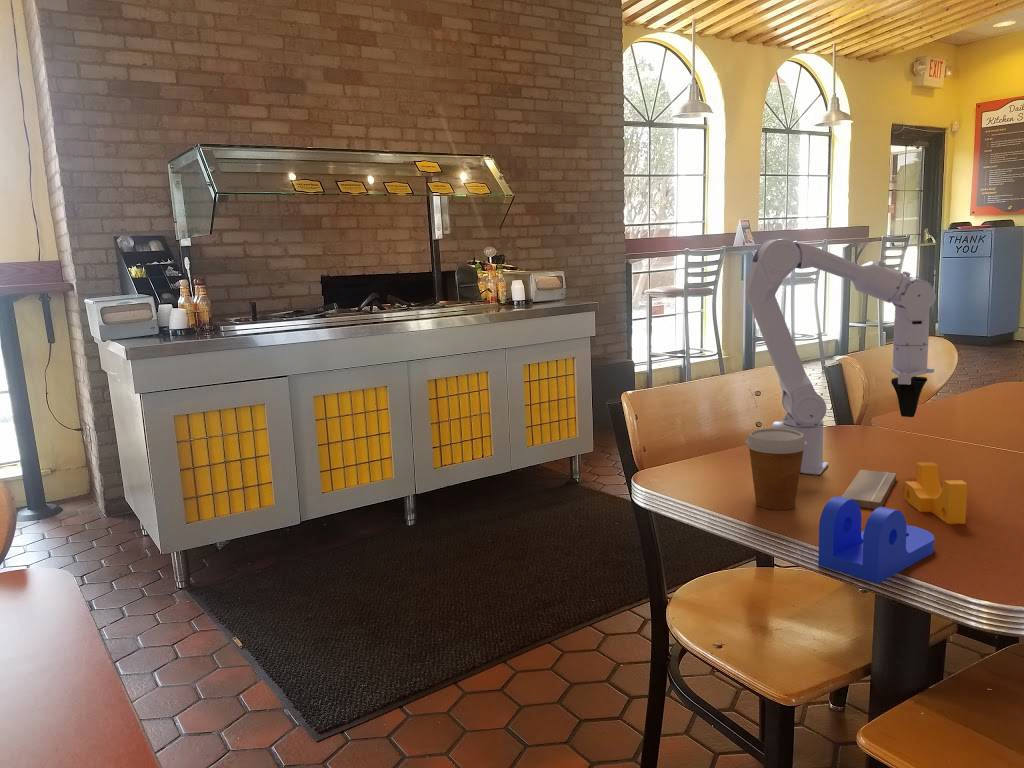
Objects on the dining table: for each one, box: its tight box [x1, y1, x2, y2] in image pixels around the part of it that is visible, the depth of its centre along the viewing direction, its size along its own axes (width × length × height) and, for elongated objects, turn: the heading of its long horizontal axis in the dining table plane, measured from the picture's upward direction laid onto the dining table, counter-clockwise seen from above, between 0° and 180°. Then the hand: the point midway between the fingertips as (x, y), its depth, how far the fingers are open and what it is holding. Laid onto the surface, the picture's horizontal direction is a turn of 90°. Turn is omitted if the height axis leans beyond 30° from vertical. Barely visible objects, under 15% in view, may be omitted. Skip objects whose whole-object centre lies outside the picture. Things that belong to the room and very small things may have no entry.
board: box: [841, 469, 897, 510], centre depth 136 cm, size 6×18×1 cm, turn 147°
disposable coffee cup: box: [745, 428, 807, 511], centre depth 131 cm, size 10×10×12 cm
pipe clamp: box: [903, 461, 968, 525], centre depth 125 cm, size 12×4×6 cm, turn 175°
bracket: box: [817, 496, 935, 585], centre depth 108 cm, size 18×8×9 cm, turn 127°
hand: (907, 416), depth 147 cm, fingers closed
